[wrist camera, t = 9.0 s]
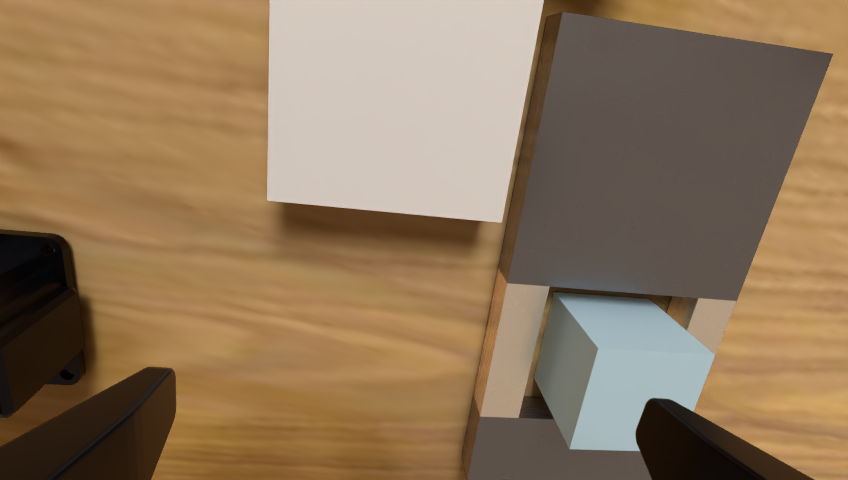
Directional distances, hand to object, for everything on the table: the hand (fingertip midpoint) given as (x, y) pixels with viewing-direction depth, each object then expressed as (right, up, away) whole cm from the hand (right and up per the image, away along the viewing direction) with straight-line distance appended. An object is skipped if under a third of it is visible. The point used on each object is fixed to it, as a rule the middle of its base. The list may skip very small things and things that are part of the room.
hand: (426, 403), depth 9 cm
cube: (+8, -1, +13) cm, 15 cm away
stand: (-1, +10, +8) cm, 12 cm away
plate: (+8, +1, +12) cm, 14 cm away
